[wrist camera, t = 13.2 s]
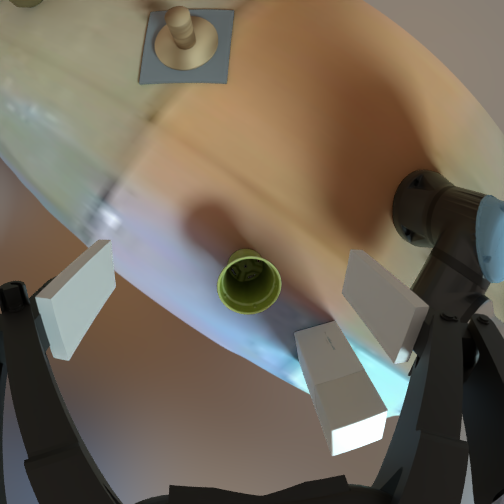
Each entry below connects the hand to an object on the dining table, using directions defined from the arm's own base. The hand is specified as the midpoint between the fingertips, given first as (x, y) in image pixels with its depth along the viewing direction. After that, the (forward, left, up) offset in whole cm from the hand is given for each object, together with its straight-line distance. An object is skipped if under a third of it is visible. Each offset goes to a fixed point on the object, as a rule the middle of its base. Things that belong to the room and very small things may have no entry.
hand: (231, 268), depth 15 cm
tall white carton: (-20, +30, -33) cm, 49 cm away
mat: (+8, -24, -33) cm, 41 cm away
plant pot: (-4, +13, -33) cm, 36 cm away
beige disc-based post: (+8, -24, -32) cm, 41 cm away
